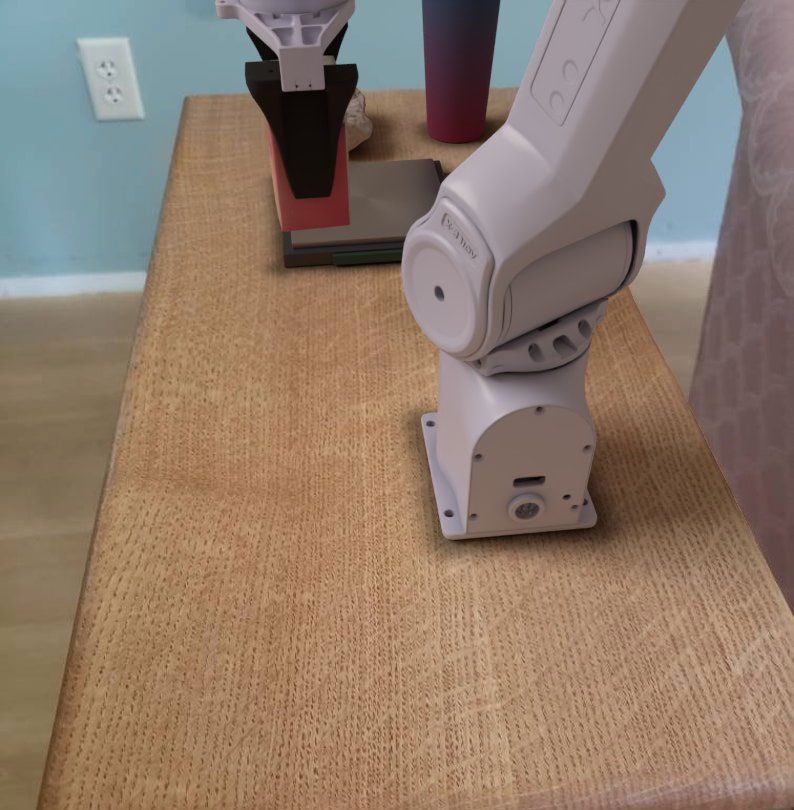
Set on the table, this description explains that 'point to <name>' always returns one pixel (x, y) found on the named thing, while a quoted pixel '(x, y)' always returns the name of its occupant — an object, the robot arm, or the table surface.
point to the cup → (458, 66)
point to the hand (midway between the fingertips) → (310, 171)
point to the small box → (313, 210)
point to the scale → (371, 215)
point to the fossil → (357, 120)
